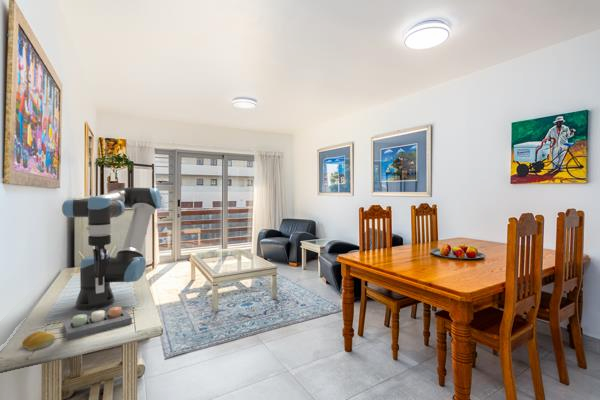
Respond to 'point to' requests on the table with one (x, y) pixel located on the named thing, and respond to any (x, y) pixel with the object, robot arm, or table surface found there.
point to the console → (96, 325)
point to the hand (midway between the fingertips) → (100, 292)
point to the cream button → (97, 316)
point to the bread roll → (38, 340)
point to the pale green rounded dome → (79, 320)
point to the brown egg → (114, 312)
